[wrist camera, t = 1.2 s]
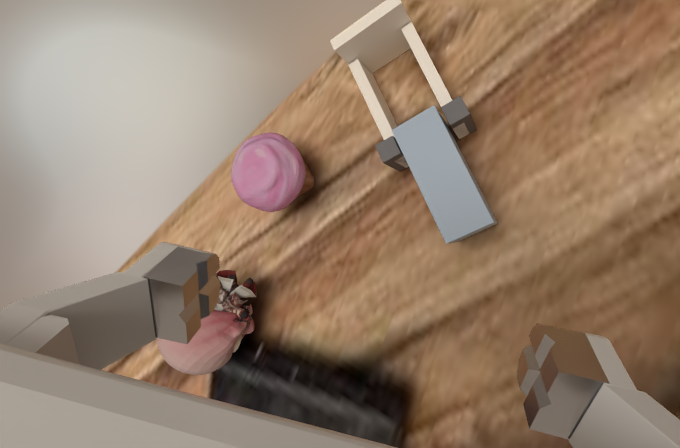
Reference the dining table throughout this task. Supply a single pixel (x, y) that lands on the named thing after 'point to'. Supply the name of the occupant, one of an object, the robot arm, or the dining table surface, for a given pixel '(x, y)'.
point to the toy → (215, 330)
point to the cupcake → (270, 172)
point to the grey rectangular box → (443, 176)
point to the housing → (381, 48)
